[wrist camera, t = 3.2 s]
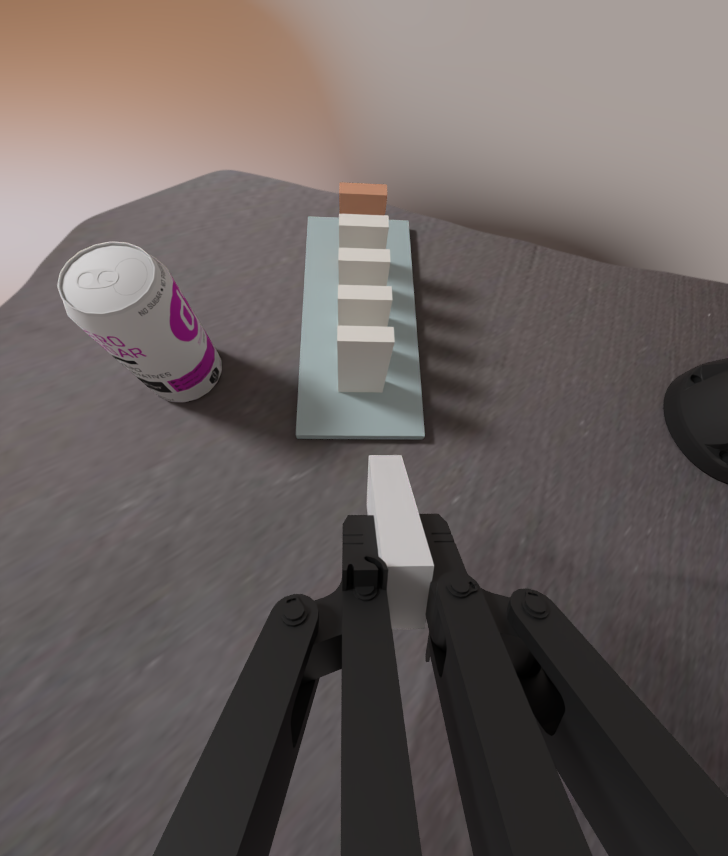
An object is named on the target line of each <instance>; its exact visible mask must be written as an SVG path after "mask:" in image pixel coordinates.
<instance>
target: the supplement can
mask: <svg viewBox="0 0 728 856" xmlns="http://www.w3.org/2000/svg"><path fill="white" fill-rule="evenodd" d="M57 287H58V290H59V293H60V296H61V298H62V299H63V303H64V306H65V309H66V312H67V315H68V316H69V317H70V318H71V319H72V320H73V321H74V322H75V323H76V324H77V325H78V326H79V327H80V328H81V329H83V330H84V331H85V332H86V333H87V334H88V335H89V336H91V337H92V338H93V339H94V340H95V341H96V342H97V343H99V344H100V345H101V346H102V347H103V348H104V349H105V350H106V351H108V352H109V353H110V354H111V355H112V356H113V357H114V358H116V359H117V360H118V361H119V362H120V363H121V364H122V365H124V366H125V367H126V368H127V369H128V370H129V371H130V372H131V373H133V374H134V375H135V376H136V377H137V378H138V379H139V380H141V381H142V382H143V383H144V384H145V385H146V386H147V387H148V388H150V389H151V390H152V391H153V392H154V393H155V394H156V395H158V396H159V397H160V398H163V399H165V400H168V401H170V402H188V401H191V400H195V399H198V398H200V397H201V396H203V395H205V394H206V393H208V392H209V391H210V390H211V389H212V388H213V387H214V386H215V384H216V383H217V382H218V380H219V377H220V374H221V372H222V362H221V358H220V356H219V354H218V352H217V350H216V348H215V347H214V345H213V344H212V342H211V340H210V339H209V337H208V335H207V334H206V332H205V330H204V329H203V327H202V325H201V324H200V322H199V320H198V319H197V317H196V315H195V314H194V312H193V310H192V309H191V307H190V306H189V304H188V302H187V301H186V299H185V297H184V296H183V294H182V292H181V291H180V289H179V287H178V286H177V284H176V282H175V281H174V279H173V277H172V276H171V274H170V272H169V271H168V269H167V267H166V266H165V265H163V264H162V263H161V262H160V261H159V260H157V259H156V258H155V257H153V256H151V255H149V254H148V253H146V252H145V251H144V250H143V249H141V248H140V247H138V246H135V245H132V244H129V243H126V242H106V243H101V244H96V245H93V246H90V247H88V248H86V249H84V250H82V251H79V252H78V253H77V254H76V255H74V256H73V257H72V258H71V259H70V260H68V261H67V262H66V264H65V266H64V267H63V269H62V270H61V272H60V273H59V279H58V285H57Z"/></svg>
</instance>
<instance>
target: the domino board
mask: <svg viewBox="0 0 728 856" xmlns="http://www.w3.org/2000/svg"><path fill="white" fill-rule="evenodd" d="M386 249H390V260H391V263H390V269H389V275H388V281H387V286H392V305H391V311H390V316H389V321H388V326H387V327H394V341H395V343H394V347H393V351H392V355H391V359H390V363H389V367H388V372H387V376H386V380H385V384H384V388H383V392H382V393H380V392H338V356H337V325H338V285H339V269H338V253H339V218H333V217H309V216H308V227H307V245H306V262H305V280H304V298H303V315H302V333H301V350H300V368H299V386H298V403H297V421H296V437H297V439H423V438H424V437H425V432H424V418H423V405H422V392H421V379H420V366H419V353H418V340H417V327H416V314H415V300H414V287H413V274H412V261H411V248H410V235H409V222H408V221H405V220H389V230H388V237H387V244H386Z"/></svg>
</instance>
